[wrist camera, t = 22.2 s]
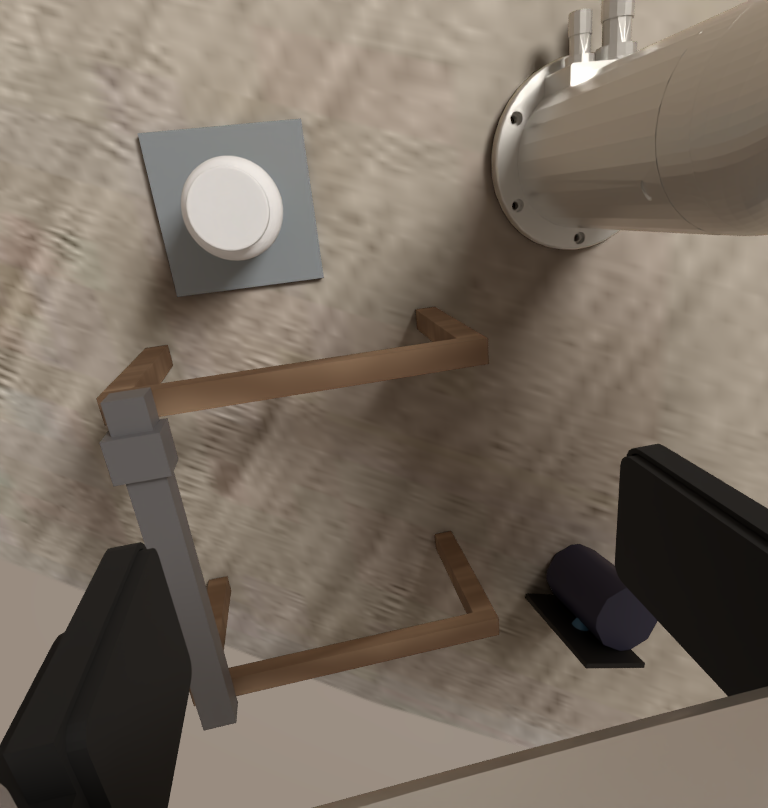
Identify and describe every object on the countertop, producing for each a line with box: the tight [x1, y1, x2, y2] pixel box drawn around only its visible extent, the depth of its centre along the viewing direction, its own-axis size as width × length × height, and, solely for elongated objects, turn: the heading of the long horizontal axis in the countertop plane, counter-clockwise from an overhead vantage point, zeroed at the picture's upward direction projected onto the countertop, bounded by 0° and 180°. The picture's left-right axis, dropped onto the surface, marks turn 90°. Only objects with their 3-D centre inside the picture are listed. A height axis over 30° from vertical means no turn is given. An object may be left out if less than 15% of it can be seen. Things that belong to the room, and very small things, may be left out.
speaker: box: [525, 544, 658, 668], centre depth 47 cm, size 8×6×10 cm
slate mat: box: [138, 119, 324, 297], centre depth 35 cm, size 10×10×1 cm
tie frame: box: [96, 307, 499, 706], centre depth 38 cm, size 22×21×11 cm
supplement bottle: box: [181, 156, 283, 261], centre depth 31 cm, size 5×5×10 cm
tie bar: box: [100, 387, 238, 730], centre depth 30 cm, size 22×3×2 cm, turn 6°
